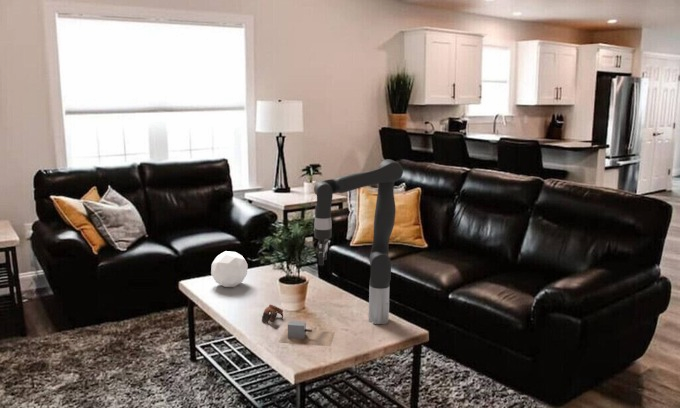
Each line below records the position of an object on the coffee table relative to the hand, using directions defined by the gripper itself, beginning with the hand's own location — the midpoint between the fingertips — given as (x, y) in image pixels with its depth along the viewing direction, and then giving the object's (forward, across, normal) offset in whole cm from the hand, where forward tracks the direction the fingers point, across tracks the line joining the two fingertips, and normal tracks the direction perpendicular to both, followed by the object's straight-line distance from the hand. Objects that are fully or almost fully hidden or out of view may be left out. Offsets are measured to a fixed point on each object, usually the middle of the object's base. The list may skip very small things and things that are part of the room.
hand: (322, 262), depth 256 cm
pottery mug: (+30, +2, +24) cm, 39 cm away
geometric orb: (+30, +45, +58) cm, 79 cm away
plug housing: (+29, -16, +7) cm, 34 cm away
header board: (+30, -16, +4) cm, 34 cm away
